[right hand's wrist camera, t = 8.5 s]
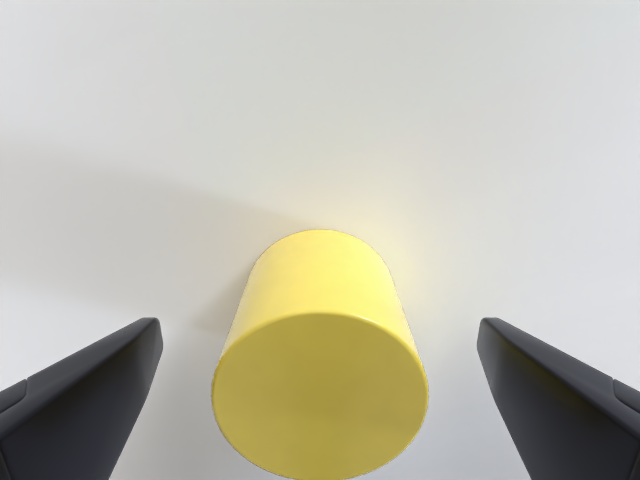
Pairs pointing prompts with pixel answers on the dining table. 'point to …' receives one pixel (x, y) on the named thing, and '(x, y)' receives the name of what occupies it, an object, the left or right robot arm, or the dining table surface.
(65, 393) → the right robot arm
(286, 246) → the canister
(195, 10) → the dining table surface
